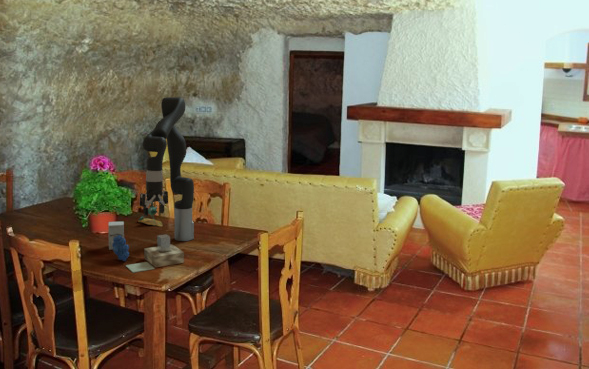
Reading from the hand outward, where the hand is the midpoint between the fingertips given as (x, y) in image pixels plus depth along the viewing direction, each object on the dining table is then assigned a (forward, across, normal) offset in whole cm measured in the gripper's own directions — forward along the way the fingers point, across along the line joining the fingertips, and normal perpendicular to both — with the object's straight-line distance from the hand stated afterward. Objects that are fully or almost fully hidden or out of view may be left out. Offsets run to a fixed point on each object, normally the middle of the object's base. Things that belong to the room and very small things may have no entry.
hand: (154, 214), depth 273 cm
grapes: (+23, +11, -11) cm, 28 cm away
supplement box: (+22, +1, -29) cm, 36 cm away
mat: (+23, +10, +4) cm, 25 cm away
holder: (+22, -4, +3) cm, 23 cm away
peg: (+22, -4, +3) cm, 23 cm away
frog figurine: (+20, -38, -55) cm, 69 cm away
